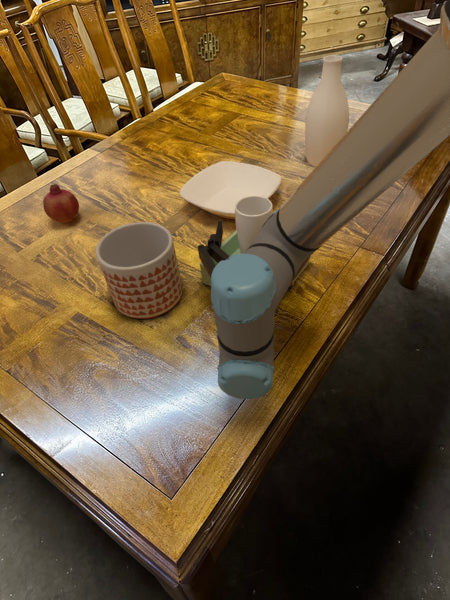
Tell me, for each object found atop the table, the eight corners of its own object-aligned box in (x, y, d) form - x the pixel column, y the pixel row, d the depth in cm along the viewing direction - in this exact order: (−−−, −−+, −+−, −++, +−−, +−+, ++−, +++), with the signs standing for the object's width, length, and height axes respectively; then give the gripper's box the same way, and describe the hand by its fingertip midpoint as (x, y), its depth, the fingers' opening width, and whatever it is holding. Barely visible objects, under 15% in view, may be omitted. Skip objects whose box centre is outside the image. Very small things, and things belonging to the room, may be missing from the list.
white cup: (279, 271, 83) (280, 206, 73) (252, 285, 81) (249, 221, 70) (258, 254, 87) (257, 190, 77) (232, 268, 85) (226, 204, 74)
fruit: (54, 213, 107) (39, 178, 100) (86, 210, 107) (72, 174, 100) (47, 232, 101) (31, 196, 94) (81, 228, 101) (66, 192, 94)
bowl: (222, 174, 114) (220, 156, 111) (292, 193, 105) (292, 174, 101) (171, 213, 103) (167, 194, 99) (244, 239, 93) (243, 220, 89)
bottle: (294, 160, 117) (298, 59, 99) (322, 147, 121) (331, 48, 103) (323, 174, 110) (334, 69, 92) (352, 160, 114) (367, 56, 96)
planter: (190, 309, 79) (179, 257, 70) (118, 328, 77) (98, 277, 68) (175, 265, 89) (164, 214, 80) (111, 281, 87) (92, 230, 78)
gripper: (176, 320, 70) (194, 242, 85) (329, 322, 67) (320, 240, 82) (168, 287, 64) (189, 210, 79) (334, 288, 61) (323, 207, 76)
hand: (255, 225), depth 80 cm, fingers open, 13 cm apart
